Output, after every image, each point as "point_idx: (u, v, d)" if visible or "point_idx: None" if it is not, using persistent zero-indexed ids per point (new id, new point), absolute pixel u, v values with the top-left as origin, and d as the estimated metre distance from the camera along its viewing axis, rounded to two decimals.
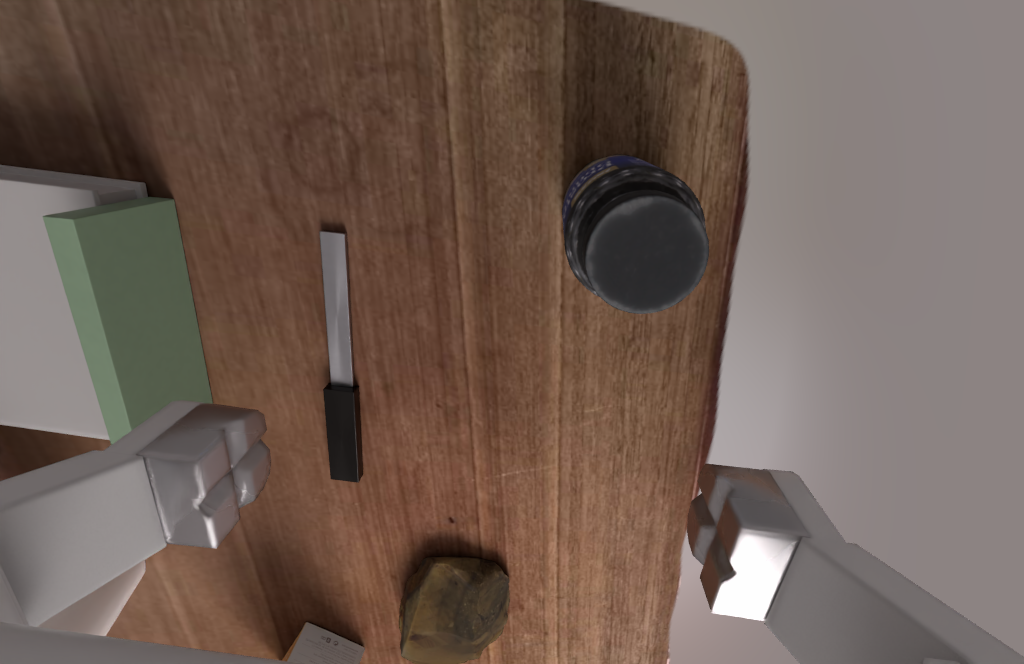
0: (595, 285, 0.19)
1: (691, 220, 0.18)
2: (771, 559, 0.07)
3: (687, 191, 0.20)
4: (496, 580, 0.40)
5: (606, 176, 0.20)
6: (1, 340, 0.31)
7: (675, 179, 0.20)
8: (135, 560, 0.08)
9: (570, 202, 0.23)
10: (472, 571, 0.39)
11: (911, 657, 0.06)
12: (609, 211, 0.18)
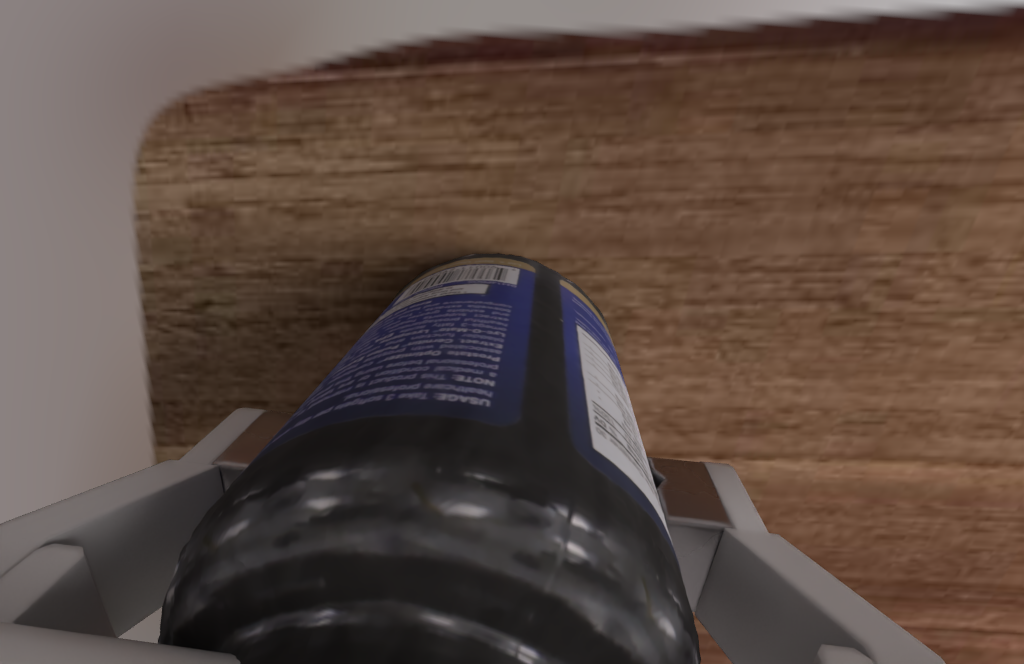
0: None
1: None
2: (697, 550, 0.07)
3: (188, 566, 0.05)
4: None
5: None
6: None
7: None
8: None
9: None
10: None
11: (818, 645, 0.06)
12: None
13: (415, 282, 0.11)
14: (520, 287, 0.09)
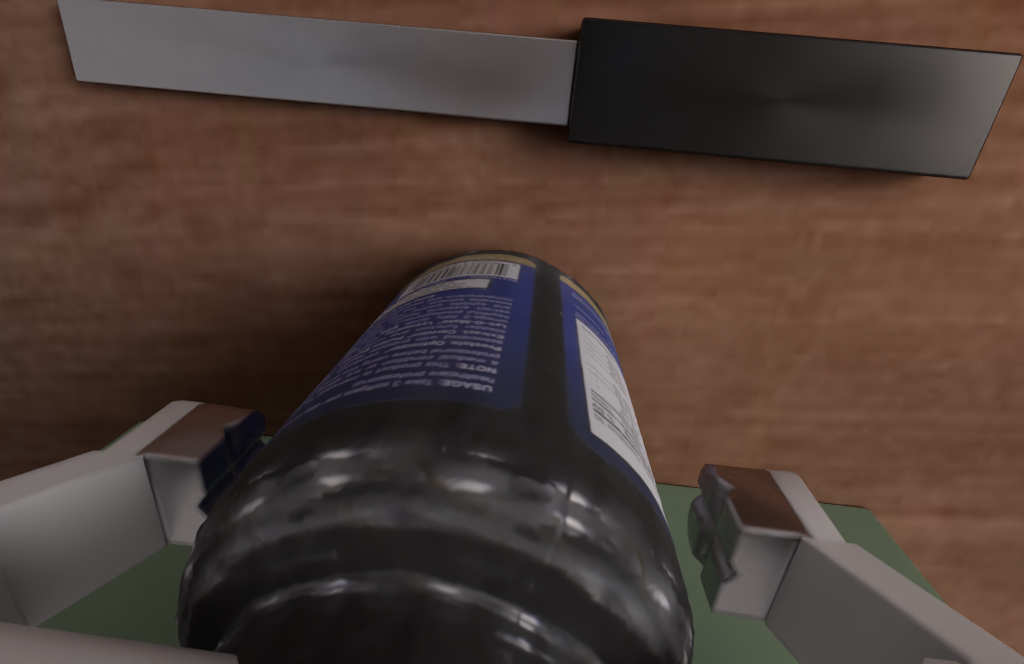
0: None
1: None
2: (771, 559, 0.07)
3: (206, 542, 0.05)
4: None
5: None
6: None
7: (188, 559, 0.05)
8: (135, 560, 0.08)
9: None
10: None
11: (911, 657, 0.06)
12: None
13: (418, 278, 0.11)
14: (520, 282, 0.09)
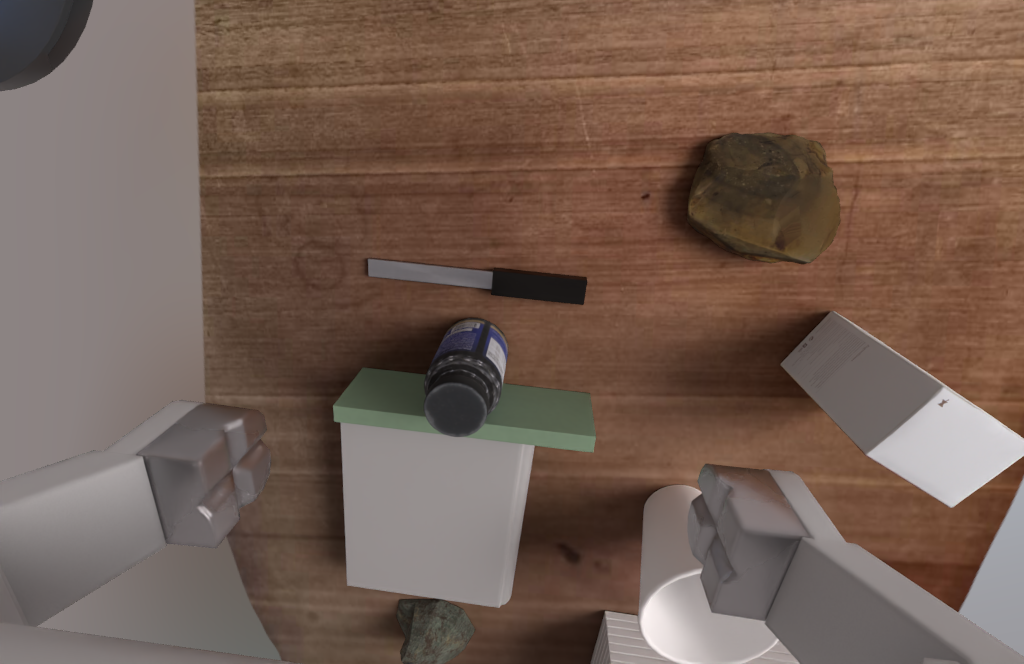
0: (472, 432, 0.35)
1: (434, 392, 0.34)
2: (771, 559, 0.07)
3: (432, 369, 0.37)
4: (721, 147, 0.36)
5: None
6: (446, 490, 0.47)
7: (427, 373, 0.37)
8: (135, 560, 0.08)
9: None
10: (703, 174, 0.36)
11: (911, 657, 0.06)
12: (433, 427, 0.36)
13: (454, 326, 0.43)
14: (479, 329, 0.41)
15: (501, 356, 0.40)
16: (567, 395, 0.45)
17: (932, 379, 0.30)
